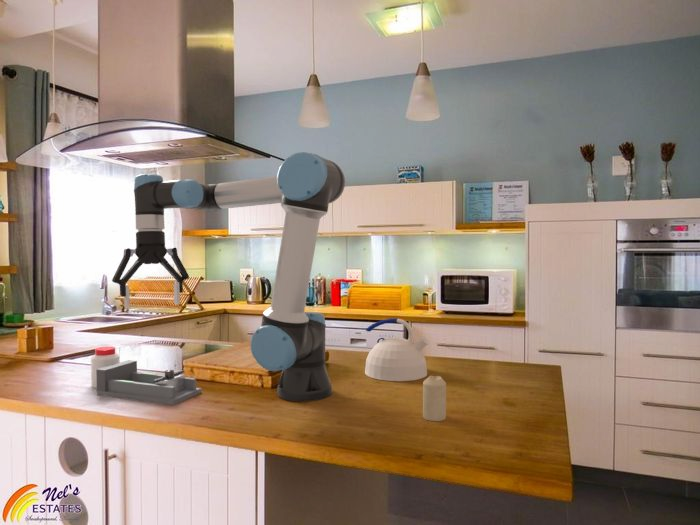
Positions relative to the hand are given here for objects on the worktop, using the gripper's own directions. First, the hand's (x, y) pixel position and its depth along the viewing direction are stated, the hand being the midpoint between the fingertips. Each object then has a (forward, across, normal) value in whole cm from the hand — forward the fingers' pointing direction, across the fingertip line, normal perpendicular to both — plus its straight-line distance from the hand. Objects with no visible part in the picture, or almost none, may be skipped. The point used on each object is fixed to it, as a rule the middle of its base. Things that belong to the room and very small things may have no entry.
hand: (152, 306), depth 144 cm
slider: (+23, -2, +6) cm, 24 cm away
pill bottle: (+24, +9, -18) cm, 32 cm away
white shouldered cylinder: (+26, -48, +62) cm, 82 cm away
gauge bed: (+24, +2, 0) cm, 25 cm away
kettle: (+26, -69, +24) cm, 78 cm away
